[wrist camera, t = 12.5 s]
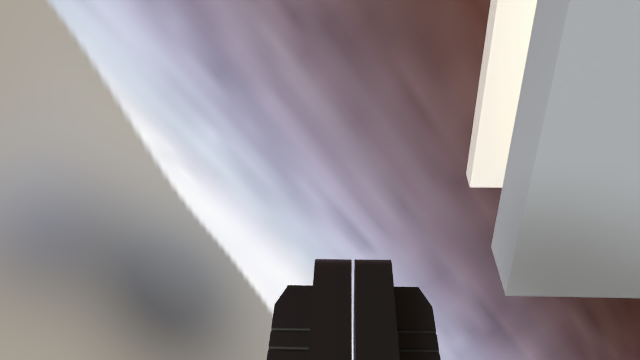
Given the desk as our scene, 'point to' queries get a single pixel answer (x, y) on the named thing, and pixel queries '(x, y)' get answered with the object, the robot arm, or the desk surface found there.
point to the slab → (575, 157)
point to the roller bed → (499, 90)
